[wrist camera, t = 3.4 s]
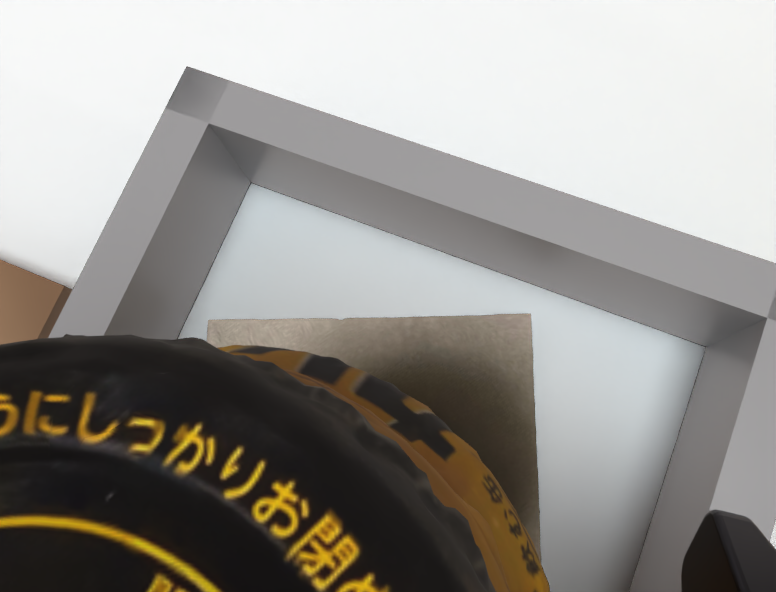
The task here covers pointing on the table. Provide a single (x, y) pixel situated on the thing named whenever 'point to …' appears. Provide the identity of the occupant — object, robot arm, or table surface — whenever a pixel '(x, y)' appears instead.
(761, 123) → the table surface
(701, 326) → the parts tub
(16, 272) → the walnut board
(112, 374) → the condiment
